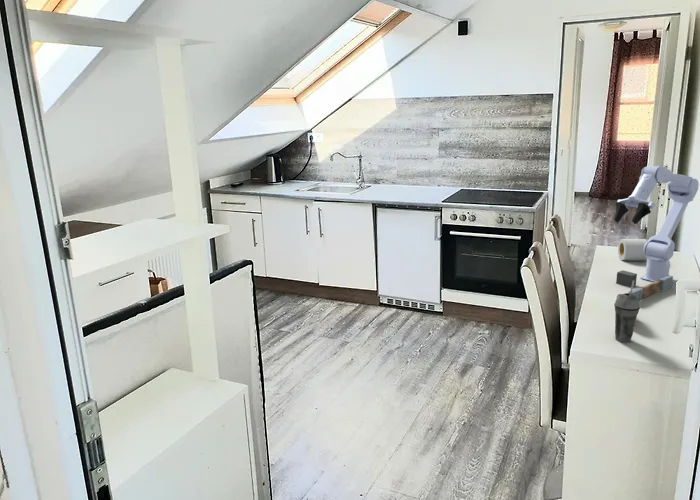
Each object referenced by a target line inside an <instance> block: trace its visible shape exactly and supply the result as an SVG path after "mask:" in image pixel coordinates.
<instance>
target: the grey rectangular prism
mask: <svg viewBox="0 0 700 500" xmlns="http://www.w3.org/2000/svg"><path fill="white" fill-rule="evenodd" d="M637 275H638V273H636V272H631V271H628V270H627V271H626V270H619V271H617V273H616V282H615V284H617V285H619V286H622V287H627V288H631V286H632V282H633V280H634V281H635V282H634V286H633V287H635V286H636V285H637V277H638V276H637Z"/></svg>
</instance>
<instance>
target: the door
mask: <svg viewBox="0 0 700 500" xmlns="http://www.w3.org/2000/svg"><path fill="white" fill-rule="evenodd" d="M640 288H641V289H643V294H642V299H644V298H646V297H649V296H651V295H653V294H656V293H658V292H661V291H660V288H661V280H658V281H656V282H651V283H649V284H646V285H644V286H642V287H640Z"/></svg>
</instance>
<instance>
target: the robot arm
mask: <svg viewBox="0 0 700 500" xmlns="http://www.w3.org/2000/svg"><path fill="white" fill-rule="evenodd" d="M658 183H660V184H667V191H668V194H669V198H670V199H671V200H672V201H673V202H672V205H671V206H670V209H669V211H668V213H667V215H666V217H665V219H664V221H663V223H662V225H661V228H660V230H659V231H658V233H657V234H654V235H652V236H650V237H649V239H647V241H648V242H647V243H646V244H645V245H644V249H643V252H644V254H645V255H646V258H647V260H646V264H645V265H646V267H645V274H644V276H641V277H640V279H642V280H646V281H650V282H652V283H654V282H656V281H658V280H659V279H660V278H663V277H666V276H668V275H670V268H671V261H670V260H671V259H672V258H673V255H674V252H675V249H676V243H675V242H674V241H673V240H672V237H673V236H674V233H675V231H676V229H677V228H678V226H679V223H680V221H681V219H682V217H683V215H684V213H685V210H686V209H687V207H688V206H689V205H688V204H689V203H690V202H692V201H694V198H695V197H696V194H697V193H698V190H699V186H700V185H699V180H698V179H697V178H694V177H692V176H689V175H685V174H679V173H673V172H672V171H671V169H668V167H667V166H660V165H647V166H645V167H642V169H641V173H640V176H639V178H638V182H637V185H636V186H635V188H634V190H633V191H632V193H631V195H629V196H628V197H627V198H623V199H617V202H616V203H615V215H614V219H613V220H614V221H615V223H619V222H620V221H621V219H622V218H623V217H624V215H625V214H627V213H628V212H629V209H628V207H631V208H636V211H635V214H634V216H633V217H632V219H631V222H632V223H633V224H634V225H637V224H638V223H639V222H640V221H641V220H642V219H643V218H645V217H646V216H647V215H649V214H651V213H652V211H651V209H654V208H655V206H656V204H655V202H654V201H651V200H648V199H649V197H650V195H651V194H652V192H653V191H654V189H655V187H656V186H657V184H658Z"/></svg>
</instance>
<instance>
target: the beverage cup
mask: <svg viewBox="0 0 700 500" xmlns="http://www.w3.org/2000/svg"><path fill="white" fill-rule="evenodd" d="M634 282H635V281H634V280H633V282H632V286H631V287H630V290H629V291H630V294H629V292H625V293H621V294H622V295H620V296H619V297H618V298H617V297H616V300H615V302H614V313H615V316H614V317H615V319H614V320H615V323H614V325H615V326H614V334H615V337H614V339H615V341H617V342H619V343H624V344H627V343H628V344H629V343H631V341H632V338H633V335H634V329H635V326H636V321H637V318H638V314H639V312H640V309H641V307H640V305H641V304H640V301H638V299H637V298H636V297H635V296H634V295H632V290H634V287H635V286H634Z"/></svg>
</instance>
